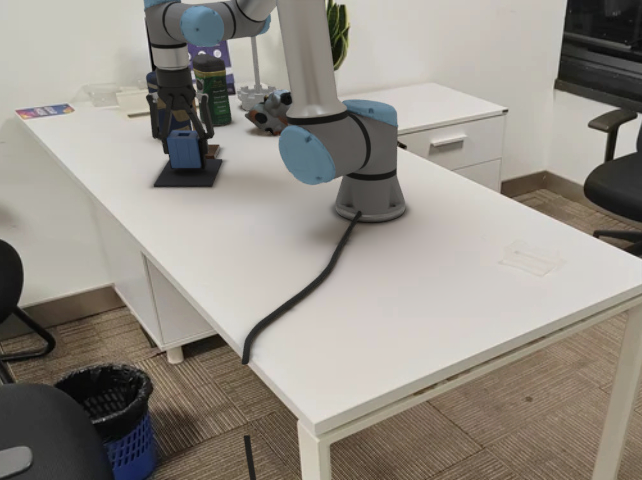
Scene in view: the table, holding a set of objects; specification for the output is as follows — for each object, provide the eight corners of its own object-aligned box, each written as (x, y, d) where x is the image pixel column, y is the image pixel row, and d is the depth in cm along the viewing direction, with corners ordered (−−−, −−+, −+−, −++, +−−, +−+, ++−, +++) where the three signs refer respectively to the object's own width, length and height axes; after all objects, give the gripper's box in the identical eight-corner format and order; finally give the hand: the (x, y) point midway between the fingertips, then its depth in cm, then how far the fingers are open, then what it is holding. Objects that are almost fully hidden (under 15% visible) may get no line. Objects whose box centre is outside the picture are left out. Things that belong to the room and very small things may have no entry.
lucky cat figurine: (269, 119, 207) (289, 77, 200) (297, 142, 204) (318, 101, 198) (235, 115, 194) (255, 71, 187) (264, 140, 191) (286, 96, 185)
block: (200, 168, 163) (195, 138, 159) (171, 168, 162) (166, 138, 159) (204, 159, 168) (200, 130, 165) (177, 159, 168) (172, 130, 164)
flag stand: (232, 110, 214) (219, 4, 197) (248, 100, 225) (237, -2, 208) (272, 113, 212) (262, 6, 196) (286, 103, 223) (278, 1, 206)
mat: (211, 186, 160) (211, 184, 160) (153, 187, 159) (153, 184, 158) (222, 161, 175) (222, 158, 175) (169, 161, 174) (169, 158, 173)
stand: (215, 160, 176) (206, 97, 167) (178, 159, 175) (168, 97, 166) (220, 148, 183) (212, 88, 174) (185, 148, 182) (175, 88, 173)
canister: (200, 136, 191) (190, 68, 181) (173, 144, 184) (161, 74, 174) (177, 130, 195) (165, 63, 185) (149, 137, 188) (136, 68, 178)
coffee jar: (236, 123, 202) (228, 56, 192) (211, 128, 198) (201, 59, 188) (221, 116, 208) (213, 50, 198) (196, 120, 204) (186, 53, 194)
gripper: (219, 63, 157) (232, 161, 170) (131, 62, 155) (150, 161, 168) (214, 70, 151) (228, 172, 164) (122, 69, 149) (143, 172, 162)
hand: (189, 166), depth 166 cm, fingers closed on block, 6 cm apart
